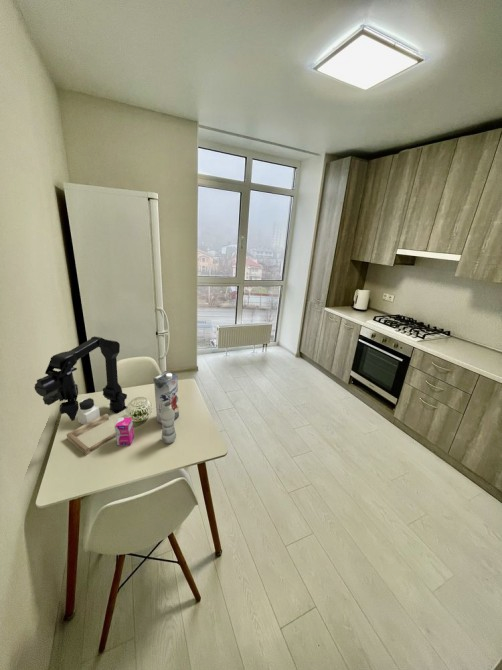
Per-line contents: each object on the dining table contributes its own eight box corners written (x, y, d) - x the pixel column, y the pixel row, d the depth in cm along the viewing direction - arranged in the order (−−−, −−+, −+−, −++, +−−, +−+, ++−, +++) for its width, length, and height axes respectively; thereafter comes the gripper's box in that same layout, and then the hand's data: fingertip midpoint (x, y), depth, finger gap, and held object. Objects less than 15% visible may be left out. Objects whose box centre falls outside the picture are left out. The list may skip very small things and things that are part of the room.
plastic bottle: (179, 437, 125) (177, 401, 118) (170, 447, 119) (168, 410, 112) (167, 433, 127) (165, 398, 120) (158, 443, 121) (155, 406, 114)
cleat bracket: (107, 418, 135) (106, 413, 134) (126, 431, 127) (125, 426, 126) (67, 439, 120) (66, 434, 119) (86, 455, 112) (85, 449, 111)
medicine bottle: (101, 419, 134) (97, 399, 130) (87, 427, 128) (83, 406, 124) (91, 414, 137) (88, 394, 133) (78, 422, 131) (74, 402, 127)
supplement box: (117, 446, 118) (113, 425, 114) (121, 437, 123) (119, 416, 119) (130, 446, 118) (127, 425, 114) (134, 436, 124) (132, 416, 120)
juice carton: (154, 422, 134) (150, 376, 125) (167, 411, 143) (165, 367, 134) (168, 428, 131) (165, 380, 122) (181, 416, 140) (179, 371, 131)
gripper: (43, 377, 113) (51, 407, 119) (39, 400, 99) (48, 433, 104) (74, 371, 119) (80, 401, 124) (75, 392, 104) (81, 424, 110)
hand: (73, 414), depth 116 cm, fingers open, 9 cm apart
